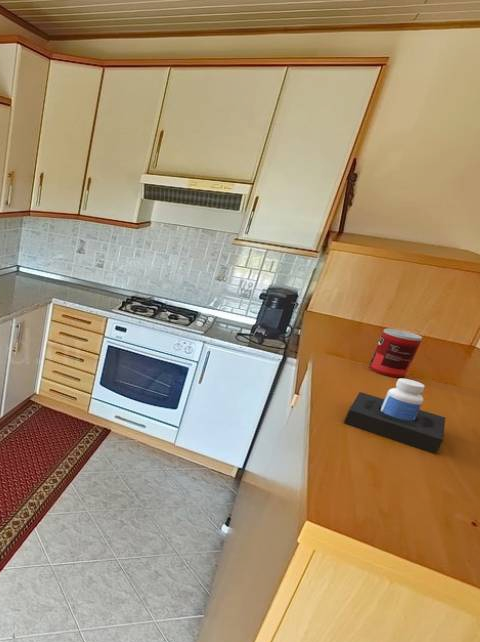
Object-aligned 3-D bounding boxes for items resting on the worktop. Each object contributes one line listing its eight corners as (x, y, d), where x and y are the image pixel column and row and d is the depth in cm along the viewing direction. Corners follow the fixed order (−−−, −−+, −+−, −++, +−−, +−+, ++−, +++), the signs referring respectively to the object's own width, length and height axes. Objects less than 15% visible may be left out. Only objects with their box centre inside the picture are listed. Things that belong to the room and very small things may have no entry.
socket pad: (354, 404, 107) (359, 391, 106) (438, 430, 98) (445, 417, 97) (343, 422, 97) (349, 409, 96) (436, 454, 88) (443, 439, 87)
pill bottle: (414, 436, 94) (435, 391, 91) (380, 429, 96) (401, 384, 92) (401, 424, 99) (422, 380, 95) (370, 417, 101) (389, 374, 97)
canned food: (383, 366, 134) (400, 328, 130) (412, 378, 126) (431, 338, 122) (360, 365, 132) (376, 327, 128) (388, 378, 125) (406, 337, 121)
